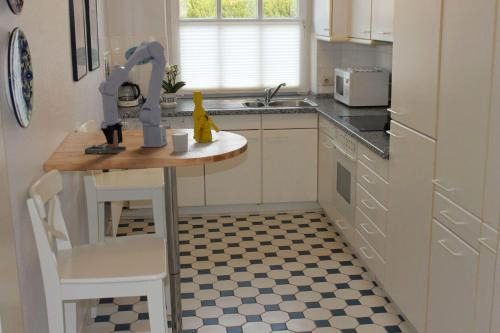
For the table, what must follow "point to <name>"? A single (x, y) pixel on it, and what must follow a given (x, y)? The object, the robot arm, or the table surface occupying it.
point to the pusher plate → (106, 147)
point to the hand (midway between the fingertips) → (113, 142)
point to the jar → (114, 141)
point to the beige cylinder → (180, 142)
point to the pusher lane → (100, 149)
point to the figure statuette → (202, 121)
